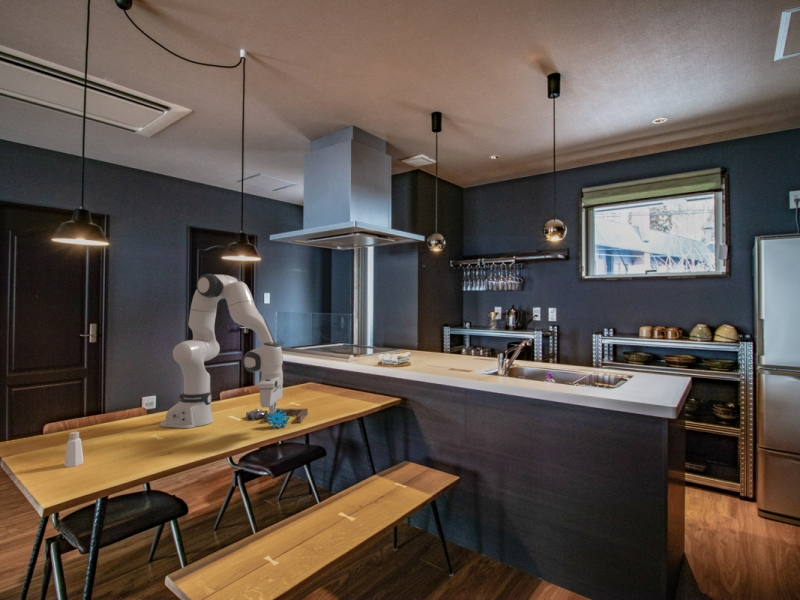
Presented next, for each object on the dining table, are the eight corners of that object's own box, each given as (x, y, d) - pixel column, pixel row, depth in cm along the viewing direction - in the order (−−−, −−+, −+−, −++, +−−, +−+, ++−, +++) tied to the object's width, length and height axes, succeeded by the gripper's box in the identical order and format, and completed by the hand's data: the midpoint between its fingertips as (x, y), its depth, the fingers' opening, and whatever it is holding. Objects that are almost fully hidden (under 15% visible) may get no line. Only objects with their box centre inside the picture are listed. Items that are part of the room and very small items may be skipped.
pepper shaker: (87, 461, 149) (87, 430, 149) (76, 467, 143) (76, 434, 144) (71, 461, 149) (72, 430, 149) (59, 467, 143) (60, 434, 143)
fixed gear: (242, 420, 201) (242, 412, 201) (250, 414, 211) (250, 406, 211) (264, 420, 201) (264, 412, 201) (270, 414, 211) (270, 406, 211)
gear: (268, 427, 184) (265, 407, 191) (264, 434, 187) (261, 415, 194) (292, 426, 191) (289, 407, 197) (288, 433, 194) (284, 414, 200)
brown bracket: (264, 422, 197) (264, 416, 197) (273, 414, 212) (273, 408, 212) (300, 423, 197) (300, 416, 197) (307, 414, 212) (307, 408, 212)
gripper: (272, 376, 191) (272, 407, 190) (256, 385, 170) (257, 419, 170) (286, 376, 191) (286, 407, 190) (272, 384, 170) (272, 419, 170)
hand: (272, 413), depth 180 cm, fingers closed
